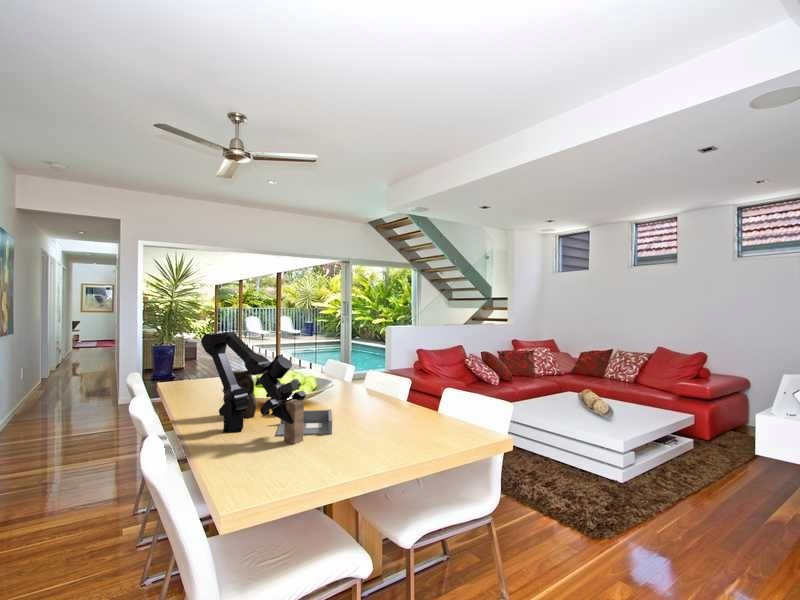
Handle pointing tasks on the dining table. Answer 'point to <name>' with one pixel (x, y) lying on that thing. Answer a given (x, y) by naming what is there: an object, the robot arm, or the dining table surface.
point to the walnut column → (294, 422)
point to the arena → (313, 423)
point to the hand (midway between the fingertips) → (297, 421)
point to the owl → (246, 381)
